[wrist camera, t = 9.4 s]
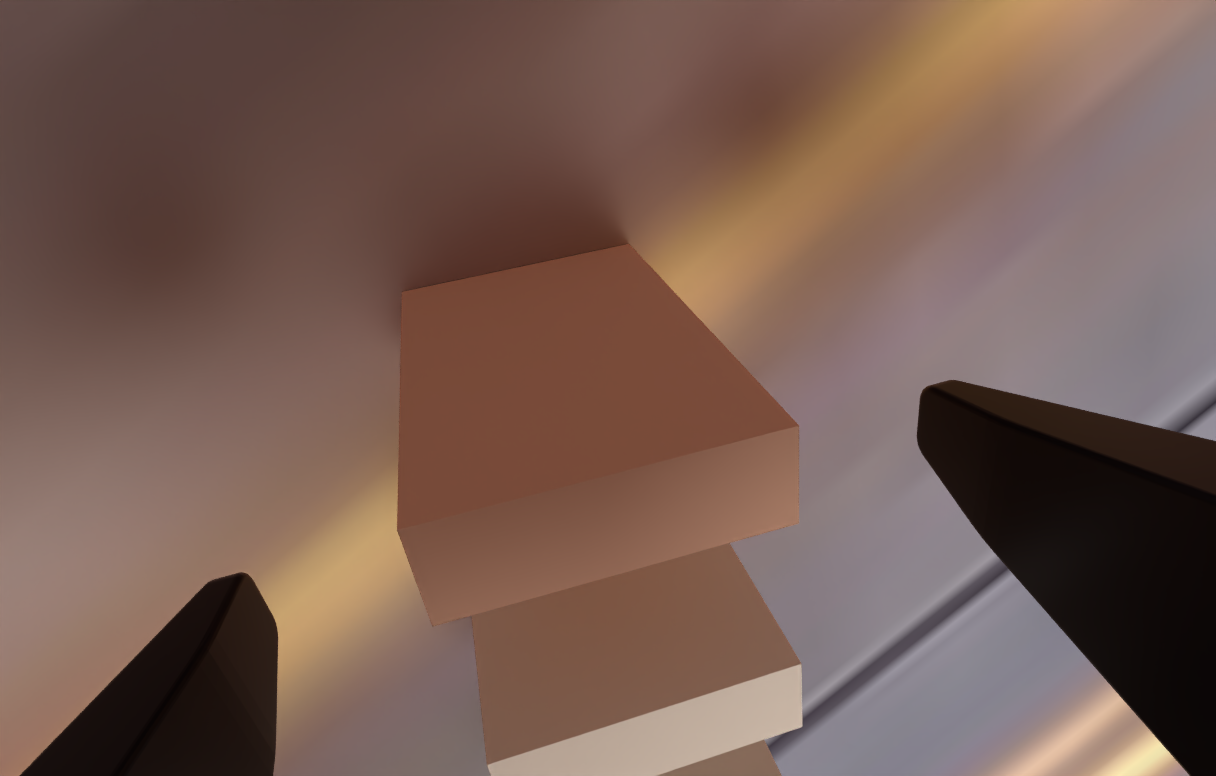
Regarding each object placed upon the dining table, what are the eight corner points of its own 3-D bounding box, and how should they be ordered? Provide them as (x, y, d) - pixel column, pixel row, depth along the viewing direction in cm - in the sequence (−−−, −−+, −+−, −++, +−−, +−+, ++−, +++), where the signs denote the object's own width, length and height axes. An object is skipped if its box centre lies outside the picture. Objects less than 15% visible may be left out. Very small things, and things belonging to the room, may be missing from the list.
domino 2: (471, 514, 18) (510, 824, 11) (455, 463, 17) (487, 764, 10) (658, 463, 19) (802, 726, 12) (651, 412, 18) (801, 663, 11)
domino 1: (421, 358, 16) (432, 626, 9) (402, 291, 15) (397, 530, 8) (637, 310, 17) (798, 523, 10) (628, 244, 16) (799, 425, 9)
